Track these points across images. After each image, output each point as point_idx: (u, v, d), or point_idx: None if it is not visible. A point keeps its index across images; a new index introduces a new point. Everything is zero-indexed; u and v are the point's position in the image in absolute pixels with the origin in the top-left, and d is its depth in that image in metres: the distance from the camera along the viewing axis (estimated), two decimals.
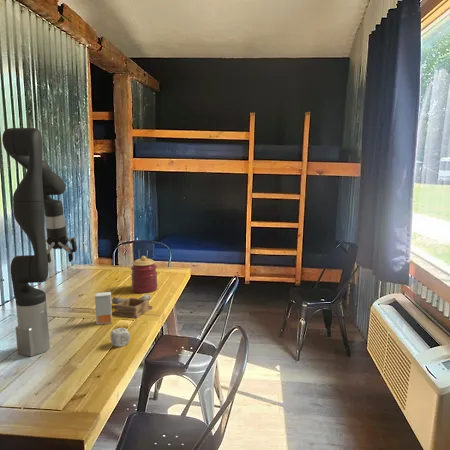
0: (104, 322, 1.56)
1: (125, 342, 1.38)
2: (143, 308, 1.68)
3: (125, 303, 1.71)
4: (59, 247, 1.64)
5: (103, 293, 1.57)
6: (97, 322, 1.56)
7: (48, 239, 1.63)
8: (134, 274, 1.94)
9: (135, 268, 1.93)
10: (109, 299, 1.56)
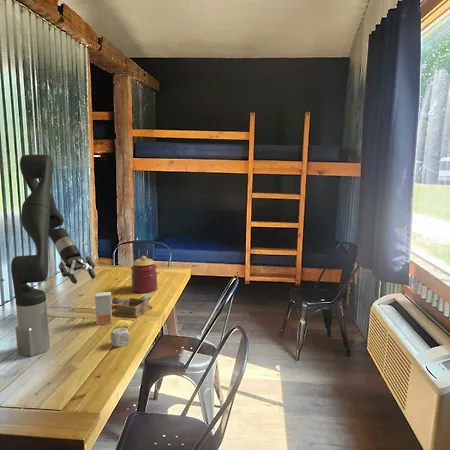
0: (104, 322, 1.56)
1: (125, 342, 1.38)
2: (143, 308, 1.68)
3: (125, 303, 1.71)
4: (80, 265, 1.65)
5: (103, 293, 1.57)
6: (97, 322, 1.56)
7: (67, 260, 1.63)
8: (134, 274, 1.94)
9: (135, 268, 1.93)
10: (109, 299, 1.56)
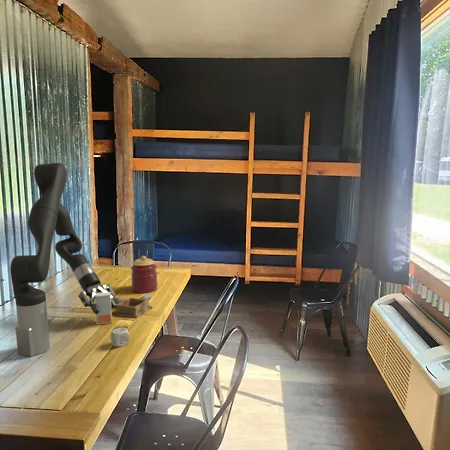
0: (104, 322, 1.56)
1: (125, 342, 1.38)
2: (143, 308, 1.68)
3: (125, 303, 1.71)
4: None
5: (103, 293, 1.57)
6: (97, 322, 1.56)
7: (87, 289, 1.57)
8: (134, 274, 1.94)
9: (135, 268, 1.93)
10: (109, 299, 1.56)
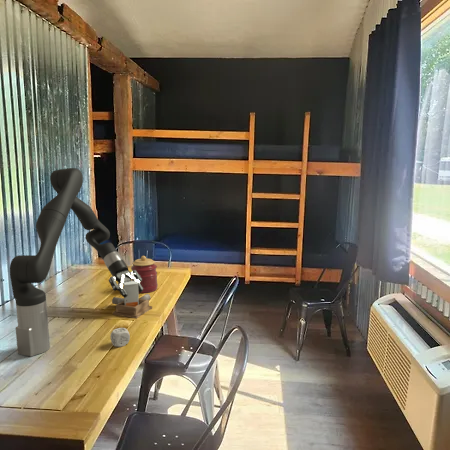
0: None
1: (125, 342, 1.37)
2: (143, 308, 1.68)
3: None
4: (128, 279, 1.70)
5: (131, 282, 1.68)
6: None
7: (116, 274, 1.68)
8: None
9: (135, 268, 1.93)
10: (137, 287, 1.67)
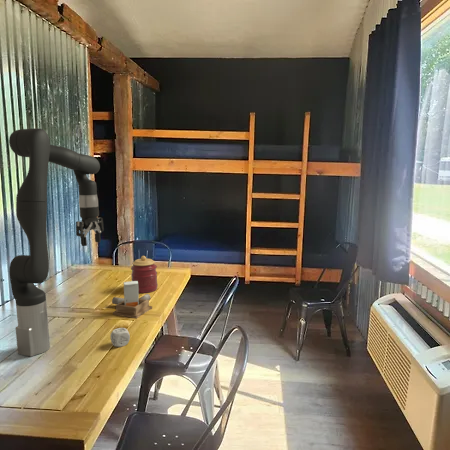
0: None
1: (125, 342, 1.37)
2: (143, 308, 1.68)
3: None
4: (93, 227, 1.64)
5: (131, 282, 1.68)
6: None
7: (86, 220, 1.60)
8: (134, 274, 1.94)
9: (135, 268, 1.93)
10: (137, 287, 1.67)
